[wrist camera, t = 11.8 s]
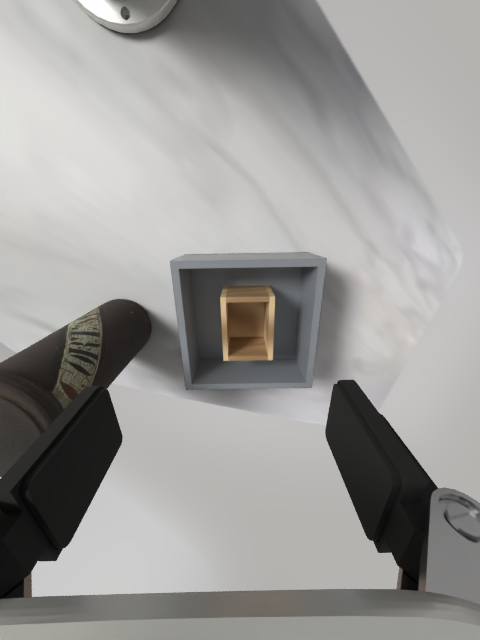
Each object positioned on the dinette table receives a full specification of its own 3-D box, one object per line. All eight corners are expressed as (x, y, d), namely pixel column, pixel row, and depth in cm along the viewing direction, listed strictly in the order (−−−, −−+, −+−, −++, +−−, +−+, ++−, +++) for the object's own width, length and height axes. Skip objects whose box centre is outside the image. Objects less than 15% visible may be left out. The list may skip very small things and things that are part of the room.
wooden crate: (223, 285, 31) (220, 297, 25) (268, 284, 31) (275, 296, 25) (226, 339, 33) (223, 360, 28) (267, 338, 33) (272, 360, 28)
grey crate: (185, 254, 30) (169, 260, 23) (307, 252, 30) (326, 258, 23) (195, 360, 36) (185, 389, 29) (298, 359, 36) (311, 387, 29)
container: (162, 311, 33) (59, 418, 14) (143, 360, 36) (39, 502, 17) (101, 286, 31) (-100, 367, 13) (88, 339, 34) (-92, 468, 16)
